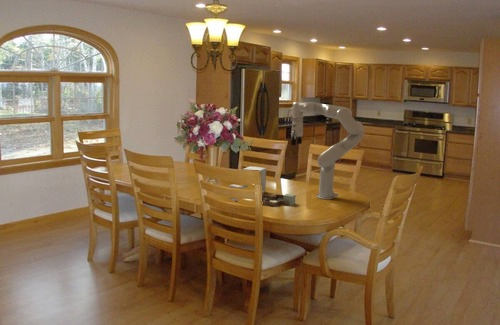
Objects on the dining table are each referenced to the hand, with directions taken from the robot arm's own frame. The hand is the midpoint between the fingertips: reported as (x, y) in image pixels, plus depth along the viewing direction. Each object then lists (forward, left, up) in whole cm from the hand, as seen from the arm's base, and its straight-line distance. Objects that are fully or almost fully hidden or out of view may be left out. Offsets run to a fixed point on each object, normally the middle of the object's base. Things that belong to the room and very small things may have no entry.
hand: (296, 144), depth 345 cm
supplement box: (+25, +14, -36) cm, 46 cm away
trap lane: (0, +31, -35) cm, 47 cm away
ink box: (+19, +50, -36) cm, 64 cm away
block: (-10, +31, -36) cm, 48 cm away
